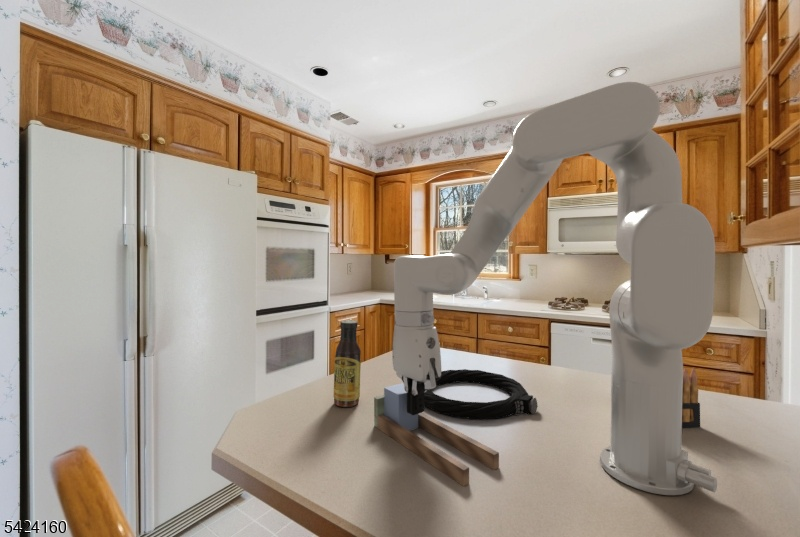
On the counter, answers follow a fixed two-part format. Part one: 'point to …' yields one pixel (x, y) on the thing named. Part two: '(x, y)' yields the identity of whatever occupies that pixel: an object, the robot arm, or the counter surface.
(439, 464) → the track
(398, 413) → the block
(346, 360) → the sauce bottle
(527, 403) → the cable lock
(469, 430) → the counter surface
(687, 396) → the ammunition clip
